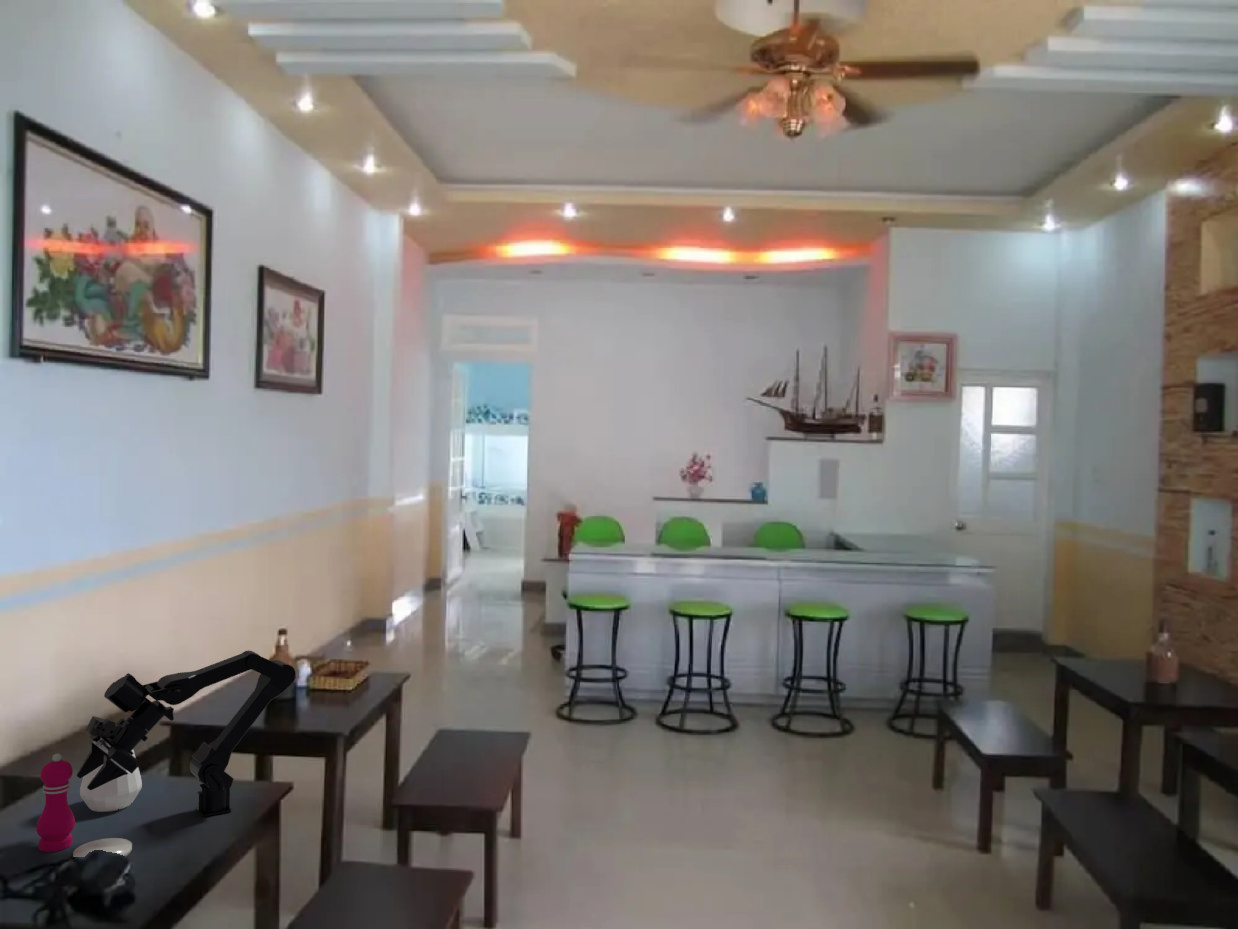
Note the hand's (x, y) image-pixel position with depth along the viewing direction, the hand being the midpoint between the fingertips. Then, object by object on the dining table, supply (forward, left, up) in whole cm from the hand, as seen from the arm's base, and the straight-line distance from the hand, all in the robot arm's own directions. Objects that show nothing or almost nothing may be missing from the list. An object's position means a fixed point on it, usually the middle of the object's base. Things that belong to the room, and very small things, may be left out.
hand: (83, 783), depth 212 cm
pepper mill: (+5, +1, -13) cm, 14 cm away
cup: (-8, -19, -13) cm, 24 cm away
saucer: (-3, +10, -13) cm, 16 cm away
